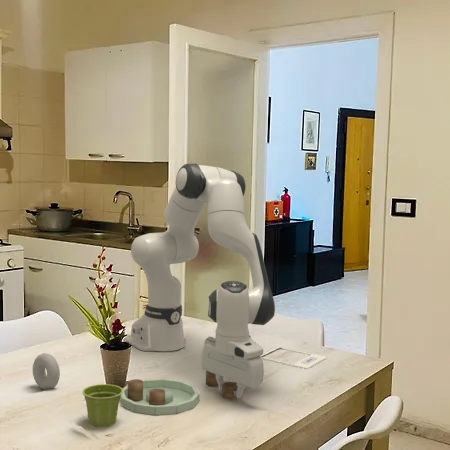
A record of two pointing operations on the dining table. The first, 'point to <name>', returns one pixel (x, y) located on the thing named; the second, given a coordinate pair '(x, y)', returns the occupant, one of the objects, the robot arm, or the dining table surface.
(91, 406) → the plant pot
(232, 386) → the loose bead
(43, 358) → the donut
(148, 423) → the dining table surface
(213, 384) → the wooden cylinder
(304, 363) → the photo frame
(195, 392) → the tray
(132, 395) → the seated bead
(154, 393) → the seated bead
